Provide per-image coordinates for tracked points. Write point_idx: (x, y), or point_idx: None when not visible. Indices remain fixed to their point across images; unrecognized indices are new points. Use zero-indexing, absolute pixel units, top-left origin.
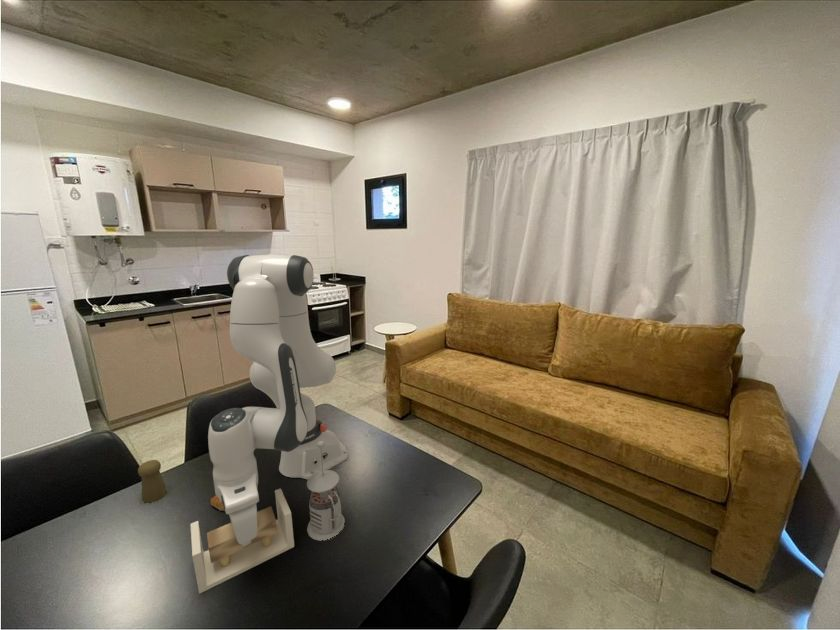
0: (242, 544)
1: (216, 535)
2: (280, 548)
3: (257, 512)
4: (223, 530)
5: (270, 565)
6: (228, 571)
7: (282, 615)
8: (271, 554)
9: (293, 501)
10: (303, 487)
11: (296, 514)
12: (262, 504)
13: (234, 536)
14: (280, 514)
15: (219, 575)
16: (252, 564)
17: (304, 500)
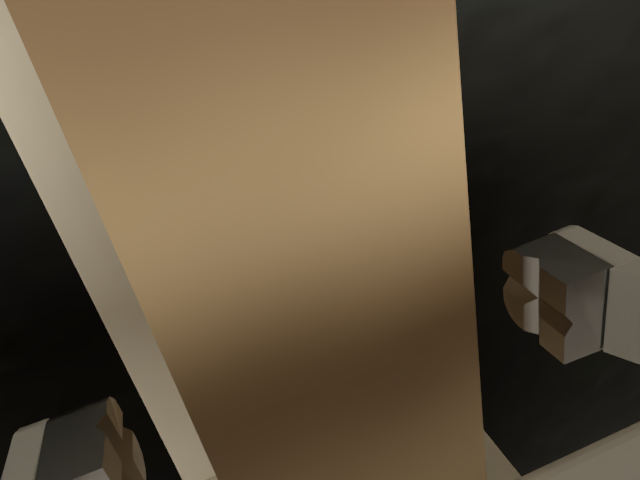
0: (12, 448)
1: (299, 49)
2: (182, 451)
3: (474, 474)
4: (365, 150)
5: (80, 393)
6: (57, 121)
7: None
8: (148, 408)
9: (543, 410)
10: None
11: None
12: (625, 244)
13: (169, 343)
14: None
15: None
16: (94, 297)
17: (517, 461)
